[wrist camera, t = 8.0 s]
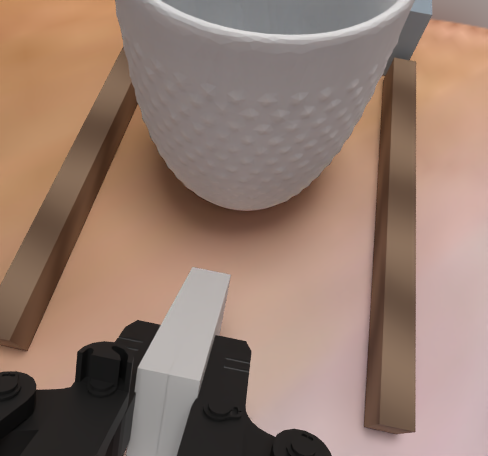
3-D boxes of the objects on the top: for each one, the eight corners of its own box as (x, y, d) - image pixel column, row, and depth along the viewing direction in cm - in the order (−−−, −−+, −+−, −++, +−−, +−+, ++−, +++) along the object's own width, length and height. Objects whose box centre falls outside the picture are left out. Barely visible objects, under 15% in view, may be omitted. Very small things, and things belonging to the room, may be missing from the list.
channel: (396, 434, 19) (415, 431, 17) (-4, 343, 20) (-25, 333, 18) (404, 84, 30) (416, 61, 28) (147, 33, 31) (143, 7, 29)
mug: (249, 46, 31) (273, -195, 20) (384, 114, 29) (501, -114, 17) (111, 181, 25) (25, -60, 13) (271, 283, 22) (337, 99, 11)
